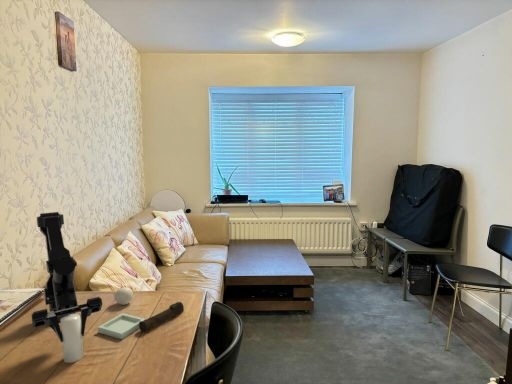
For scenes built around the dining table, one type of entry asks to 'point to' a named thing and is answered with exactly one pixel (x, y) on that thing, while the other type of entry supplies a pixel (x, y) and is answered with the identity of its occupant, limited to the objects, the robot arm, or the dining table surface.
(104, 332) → the tray
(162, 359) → the dining table surface
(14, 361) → the dining table surface
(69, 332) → the white rounded tapered cylinder
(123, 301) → the white ball
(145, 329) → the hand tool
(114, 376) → the dining table surface
